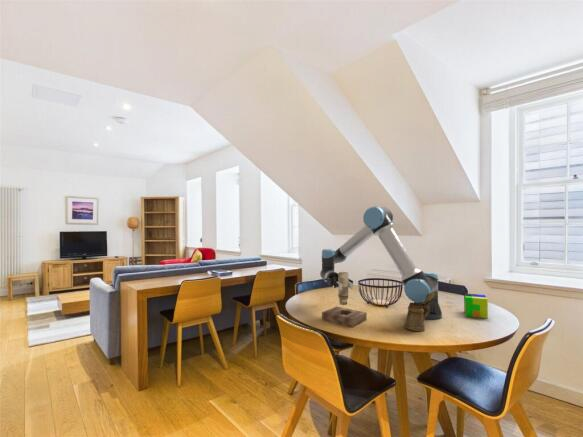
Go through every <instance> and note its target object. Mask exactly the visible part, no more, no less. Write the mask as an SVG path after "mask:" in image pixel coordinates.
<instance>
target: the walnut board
mask: <svg viewBox="0 0 583 437" xmlns="http://www.w3.org/2000/svg"><path fill="white" fill-rule="evenodd" d="M367 314H368V313H367V312H366V311H362V310H361V311H360V310H356V309H350V308H345V307H341V306H334V307H332V308H329V309H326V310H323V311H322V312H321V321H324V322H329V323H333V324H336V325H340V326H346V327H350V328H355V327H357V326H358V325H361V324H363V323H364V322H366V321H368V320H367Z"/></svg>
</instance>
